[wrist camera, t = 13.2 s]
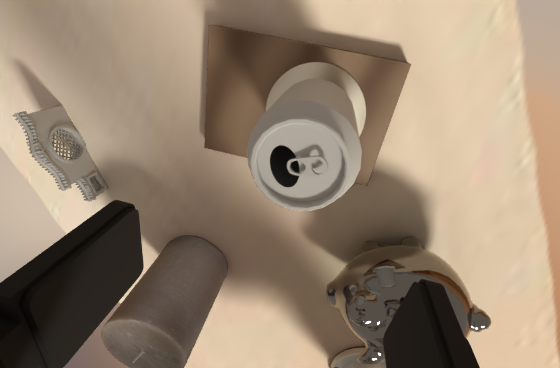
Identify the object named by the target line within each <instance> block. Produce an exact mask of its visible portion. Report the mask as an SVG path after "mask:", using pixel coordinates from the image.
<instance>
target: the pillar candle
mask: <svg viewBox="0 0 560 368" xmlns="http://www.w3.org/2000/svg"><path fill="white" fill-rule="evenodd" d="M227 271H228V266H227V261H226V259H225V256H224V255H223V253H222V252H221V251H219V250H218V249H217V248H216V247H214V246H213V245H212V244H210V243H209V242H208V241H206V240H204V239H202V238H199V237H195V236H181V237H178V238H176V239H174V240H172V241H171V242H169V243H168V244H167V246H166V247H165V248H164V250H163V251H162V252H161V254H160V255H159V256H158V257H157V259H156V260H155V261H154V263H153V264H152V265H151V266H150V268H149V269H148V270H147V272H146V273H145V274H144V275H143V277H142V278H141V279H140V280H139V282H138V283H137V284H136V285H135V287H134V288H133V289H132V291H131V292H130V293H129V295H128V296H127V297H126V298H125V300H124V301H123V302H122V303H121V305H120V306H119V307H118V308H117V310H116V311H115V312H114V314H113V315H112V316H111V317H110V319H109V320H108V321H107V323H106V324H105V325H104V326H103V328H102V331H101V336H102V340H103V343H104V345H105V347H106V348H107V349H108V351H109V352H110V353H111V354H112V355H113V356H114V357H115V358H116V359H118V360H119V361H120V362H122V363H123V364H125V365H127V366H128V367H130V368H184V366H185V365H186V363H187V360H188V358H189V356H190V354H191V351H192V349H193V347H194V345H195V343H196V340H197V338H198V336H199V334H200V332H201V330H202V327H203V325H204V323H205V321H206V318H207V316H208V314H209V312H210V310H211V308H212V306H213V303H214V301H215V299H216V297H217V294H218V292H219V290H220V288H221V286H222V283H223V281H224V279H225V277H226V275H227Z"/></svg>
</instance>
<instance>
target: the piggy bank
mask: <svg viewBox="0 0 560 368" xmlns="http://www.w3.org/2000/svg"><path fill="white" fill-rule="evenodd" d="M421 279H425V280H429V281H433V282H437V283H441V284H442V285H443V286H444V288H445V290H446V293H447V295H448V298H449V300H450V302H451V305H452V307H453V310H454V312H455V315H456V317H457V320H458V322H459V324H460V327H461V329H462V332H463V334H464V337H465V338H466V339H467V337H468V336H469V334H470V332H471V331H474V332H481V331H482V330H485V329H487V328H489V326H490V325H491V319H490V318H489V316H488V315H487V314H486V313H485V312H484V311H483V310H481V309H479V308H478V307H477V306H476V305H475V304H473V303H472V301H471V298H470V295H469V293H468V291H467V289H466V287H465V285H464V283H463V282H462V280H461V279H460V277H459V276H458V274H457V273H456V272H455V271H454V269H453V268H452V267H451V266H450V265H449V264H448V263H447V262H445V261H444V260H443V259H442V258H440V257H439V256H437V255H436V254H434V253H432V252H430V251H428V250H425V249H423V248H421V246H420V243H419V241H418V239H416V238H414V237H407V238H405V239H404V240H403V242H402V244H401V245H391V246H383V247H379V245H378V244H377V243H375V242H373V241H367V242H366V243H364V245H363V253H361V254H359V255H358V256H356V257H355V258H353V259H352V260H351V261H350V262H349V263H348V264H347V265H346V266H345V267H344V268H343V269H342V271H341V272H340V273H339V275H338V276H337V277H336V278H335V279H334V280H333V281H332V282H330V283H329V284H328V285H327V299H328V302H329V304H330V305H332V306H333V307H335V308H336V309H338V311H339V312H340V314H341V316H342V318H343V319H344V321H345V323H346V324H347V326H348V327H349V328H350V330H351V331H352V332H353V333H354V334H355V336H357V337H358V338H359V339H360V340H361V341H362V342H363V343H364V344H365V348H364V350H363V351H362V353H361V354H360V355H359V356H358V358H357V360H358V362H360V363H363V364H371V365H372V364H378V363H381V362H383V361H384V360H385V354H384V346H383V338H384V333H385V331H386V330H387V328H388V326H389V324H390V322H391V321H392V319H393V317H394V315H395V314H396V312H397V310H398V308H399V306H400V305H401V303H402V301H403V299H404V298H405V296H406V294H407V292H408V290H409V289H410V287H411V285H412V284H413V283H414V282H419V280H421Z"/></svg>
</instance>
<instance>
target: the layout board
mask: <svg viewBox="0 0 560 368" xmlns="http://www.w3.org/2000/svg"><path fill="white" fill-rule="evenodd" d="M410 66H411V64H410V63H407V62H402V61H397V60H392V59H387V58H381V57H376V56H371V55H366V54H361V53H356V52H351V51H345V50H340V49H335V48H330V47H325V46H320V45H315V44H310V43H304V42H299V41H294V40H289V39H284V38H279V37H274V36H268V35H263V34H258V33H253V32H248V31H243V30H238V29H232V28H227V27H222V26H217V25H209V41H208V68H207V95H206V122H205V148H208V149H212V150H216V151H221V152H225V153H229V154H234V155H238V156H242V157H246V158H248V156H247V146H248V141H249V137H250V133H251V131H252V130H253V128H254V126H255V125H256V123H257V122H258V120H259V118H260V117H261V116H262V115H263V114H264V113H265V112H266V111H267V110H268V109H269V108H270V107H271V106H272V105H273V104H274V103H275V102H276V101H277V100H278V99H279V98H280V96H281V95H282V94H283V93H284V92H285V91H287V90H288V89H289V88H290V87H292V86H293V85H294V84H295V83H298V82H301V81H304V80H306V79H324V80H327V81H330V82H333V83H335V84H336V85H338V86H339V87H340V88H342V89H343V90H344V91H345V92H346V94H347V95H348V97H349V98H350V100H351V101H352V104H353V108H354V112H355V116H356V122H357V127H358V133H359V138H360V144H361V149H362V156H361V167H360V171H359V173H358V175H357V177H356V179H355V182H354V183H358V184H362V185H366V186H367V184H368V181H369V179H370V176H371V173H372V170H373V168H374V165H375V162H376V159H377V157H378V154H379V151H380V148H381V146H382V143H383V140H384V137H385V135H386V132H387V129H388V126H389V124H390V121H391V118H392V115H393V113H394V110H395V107H396V104H397V102H398V99H399V96H400V93H401V91H402V88H403V85H404V82H405V80H406V77H407V74H408V71H409V69H410Z"/></svg>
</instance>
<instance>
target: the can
mask: <svg viewBox="0 0 560 368" xmlns="http://www.w3.org/2000/svg"><path fill="white" fill-rule="evenodd" d="M247 156H248V165H249V168H250V170H251V174H252V176H253V178H254V180H255V183H256V185H257V187H258V188H259V189H260V190H261V191H262V193H263V194H264V195H265V196H266V197H267V198H268V199H270V200H271V201H273V202H274V203H276V204H277V205H279V206H282V207H285V208H288V209H291V210H296V211H311V210H316V209H320V208H323V207H325V206H327V205H329V204H331V203H332V202H334V201H336V200H337V199H338V198H339V197H341V196H343V194H344V193H345V192H346V191H347V190H348V189H349V188H350V187H351V186H352V185H353V184H354V182H355V179H356V177H357V175H358V173H359V171H360V167H361V156H362V149H361V144H360V138H359V133H358V127H357V122H356V116H355V112H354V108H353V104H352V101H351V100H350V98H349V97H348V95H347V94H346V92H345V91H344V90H343V89H342V88H340V87H339V86H338V85H336V84H335V83H333V82H330V81H327V80H324V79H306V80H304V81H301V82H298V83H295V84H294V85H293V86H292V87H290V88H289V89H288V90H287V91H285V92H284V93H283V94H282V95H281V96H280V98H279V99H278V100H277V101H276V102H275V103H274V104H273V105H272V106H271V107H270V108H269V109H268V110H267V111H266V112H265V113H264V114H263V115H262V116H261V117H260V118H259V120H258V122H257V123H256V125H255V126H254V128H253V130H252V131H251V133H250V137H249V141H248V146H247Z"/></svg>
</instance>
